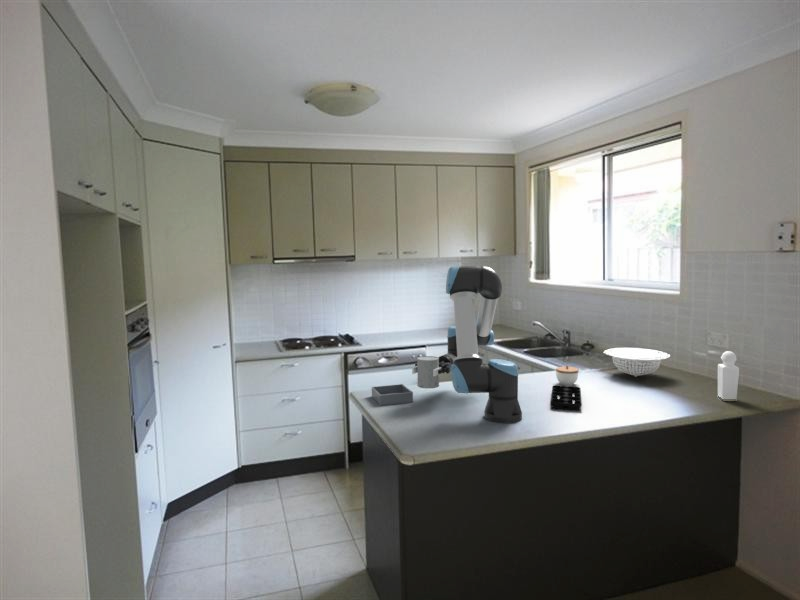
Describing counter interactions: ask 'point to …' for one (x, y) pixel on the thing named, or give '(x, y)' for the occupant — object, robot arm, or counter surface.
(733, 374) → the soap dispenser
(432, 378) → the gray cylinder
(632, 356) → the colander
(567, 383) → the lidded jar
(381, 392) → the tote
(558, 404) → the egg carton
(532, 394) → the counter surface
